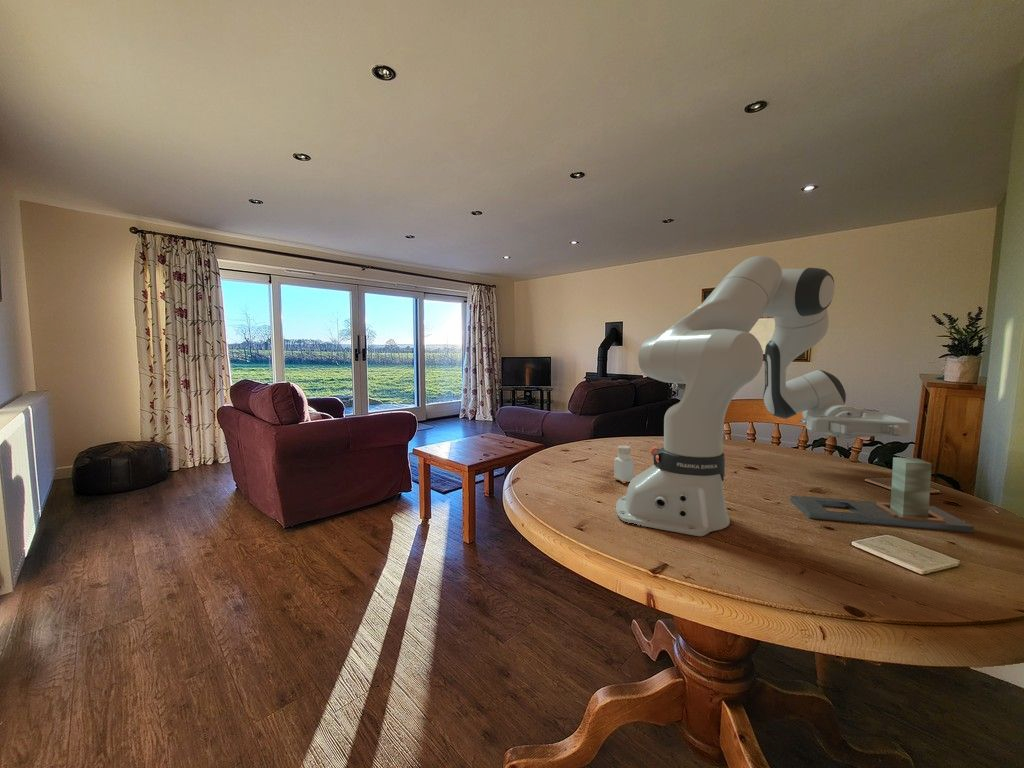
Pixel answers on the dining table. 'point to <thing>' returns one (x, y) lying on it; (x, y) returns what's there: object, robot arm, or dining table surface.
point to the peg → (910, 487)
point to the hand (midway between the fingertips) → (872, 431)
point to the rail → (877, 514)
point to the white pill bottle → (624, 464)
